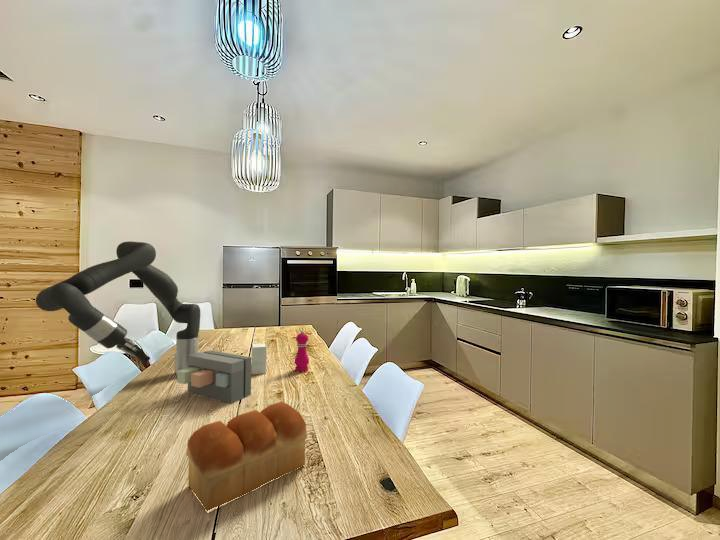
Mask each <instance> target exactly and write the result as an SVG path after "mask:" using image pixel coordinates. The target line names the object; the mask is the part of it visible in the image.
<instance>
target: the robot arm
mask: <svg viewBox="0 0 720 540" xmlns="http://www.w3.org/2000/svg"><path fill="white" fill-rule="evenodd" d="M115 252H116V257H117V258H116V259H113V260H108V261H106V262H101V263H97V264H95V265H92V266H89V267H87V268H85V269H83V270H81V271H79V272H77V273H75V274H73V275H72V276H71V277H69V278H66V279H64V280H63V281H59V282H58V283H55V284H53V285H51V286H49V287H47V288H44V289H43V290H41V291H39V293H38V294H37V295H36V297H35V303H36V306H37V307H38V308H39V309H40V310H42V311H44V312H45V311H46V312H56V311H59V310H60V311H61V310H62V309H64V310H65V311H66V312H67V313H68V314H69V315H68V317H67V318H68V321H69V323H71V325H73V326H75V327H76V328H77V329H79V330H81V331H82V332H83V333H84V334H86V335H87V336H88V337H89V338H91V339H92V340H94V341H95V342H97V343H98V344H100V345H102V346H103V347H104V348H106V349H113V348H114V347H115V348H116V349H118V350H119V351H122V352H124V353H125V354H126V355H130V356H132V357H133V358H136V359H138V360H140V361H141V362H142V363H143V364H147V363H148V362H149V360H151V357H150V356H148V355H147V354H146V353H144V350H143V349H142V348H140V346H138V344H136V343H134V341H133V340H132V339H130V338H127V337H126V336H127V334H128V330H127V329H126V328H124V326H122V325H121V324H119V323H118V322H117V321H116V320H114V319H112V318H111V317H110V316H108V315H107V314H104V313H103V312H102V311H100V310H99V309H97V308H96V307H95V306H93V305H92V303H91V302H90V301H89V300H88V298H87V296H86V295H88V294H90V293H91V294H92V293H93V292H94V291H96V290H98V289H100V288H101V287H103V286H105V285H107V284H108V283H110V282H112V281H114V280H117V279H118V278H120V277H122V276H125V275H127V274H130V273H132V274H134V275H135V276H136V277H137V279H138V280H140V281H141V282H142V284H143V285H144V286H146V288H147V289H148V290H149V291H150V293H151V294H152V295H153V296H154V297H155V298H156V299H158V301H159V302H160V303H161V304H162V306H163V307H164V308H165V309H166V311H167V312H168V314H169V315H170V316H171V318H172V319H173V321H175V322H176V323H179V324H186V328H185V329H181V330H179V331H177V332H176V337H175V338H176V339H175V340H176V348H175V349H176V351H175V354H174V374H175V373H176V374H175V376H177V371H178V370H182V369H185V368H188V356H189V355H193V354H196V353H199V332H200V326H201V325H200V324H201V307H200V306H199V304H196V303H182V302H180V301H179V300H178V298H177V297H178V293H179V289H178V286H177V284H176V282H175V281H174V280H173V278H172V277H171V276H170V275H169V274H167V273H166V272H165V271H162V270H161V269H159V268H157V267H156V266H154V265H152V264H153V263H154V261H155V259H156V256H157V251H156V248H155V247H154V246H153V245H152V244H150V243H147V242H142V241H123V242H120V243H119V244H118V245H117V247H116V251H115Z"/></svg>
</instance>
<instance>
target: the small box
mask: <svg viewBox="0 0 720 540" xmlns="http://www.w3.org/2000/svg"><path fill="white" fill-rule="evenodd" d="M251 346H252V348H251V376H252V375H263V374H267V345H266V342H265V343H252V345H251Z"/></svg>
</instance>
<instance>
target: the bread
mask: <svg viewBox="0 0 720 540" xmlns="http://www.w3.org/2000/svg"><path fill="white" fill-rule="evenodd" d="M307 438H308V432H307V425H306V421H305V419H304V418H303V416H302V414H301V412H299V411H298V410H297V409H296V408H294V407H293V406H291V405H289V404H288V403H285V402H284V401H279V402H276V403H273V404H269V405H267V406H266V407H265V408H263V409H262V410H260V411H259V410H257V409H254V410H252V411H247V412H245V413H240V414H238V415H236V416H234V417H233V418H231V419H230V420H228V421H227V423H226V424H225V423H224V422H222V421H221V420H218V421H214V422H211V423H209V424H204V425H203V426H201V427H199V428H197V430H195V431H193V433H192V434H191V436H190V437H189V438H188V441H187V447H186V452H185V453H186V454H185V455H186V456H187V458H188V478H187V479H188V484H187V486H188V485H189V486H190V488H191V489H192V490H193V492H194V493H195V494H196V496H197V497H198V499H199V500H200V501H201V503H202V504H203V506H204V507H205V509H206V510H207V511H208V510H210V509H212V508H214V507H217V506H220V505H222V504H224V503H226V502H229V501H231V500H233V499H235V498H237V497H240V496H242V495H244V494H246V493H248V492H250V491H252V490H254V489H256V488H258V487H260V486H261V485H263V484H265V483H267V482H269V481H271V480H273V479H276V478H278V477H280V476H282V475H284V474H286V473H289V472H291V471H293V470H295V469H297V468H299V467H301V466H303V465H306V439H307ZM303 467H304V466H303ZM301 468H302V467H301ZM299 469H300V468H299ZM297 470H298V469H297ZM295 471H296V470H295ZM293 472H294V471H293ZM291 473H292V472H291ZM289 474H290V473H289ZM190 488H189V489H190ZM191 489H190V490H191ZM193 492H192V493H193Z"/></svg>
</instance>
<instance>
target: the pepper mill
mask: <svg viewBox="0 0 720 540" xmlns="http://www.w3.org/2000/svg"><path fill="white" fill-rule="evenodd" d="M295 341H296V342H297V343H296V344H297V345H296V347H297V354H296V356H295V358H294V365H295V372H297V371H305V372H307V371H309V363H310V358H309V355H308V353H307V347H308V341H309V336H308V334H306V333H305V330H303V329H302V330H300V333H298V334H297V335H296V338H295ZM306 370H307V371H306Z"/></svg>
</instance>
